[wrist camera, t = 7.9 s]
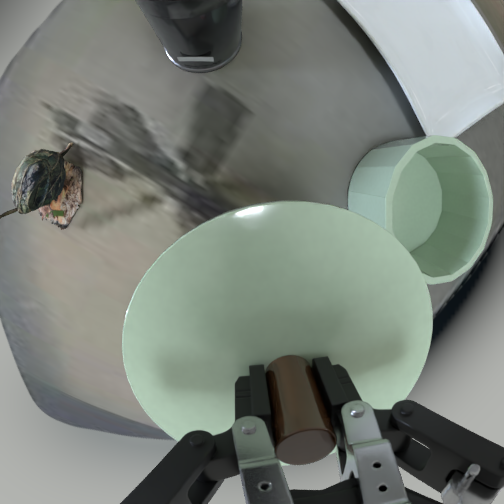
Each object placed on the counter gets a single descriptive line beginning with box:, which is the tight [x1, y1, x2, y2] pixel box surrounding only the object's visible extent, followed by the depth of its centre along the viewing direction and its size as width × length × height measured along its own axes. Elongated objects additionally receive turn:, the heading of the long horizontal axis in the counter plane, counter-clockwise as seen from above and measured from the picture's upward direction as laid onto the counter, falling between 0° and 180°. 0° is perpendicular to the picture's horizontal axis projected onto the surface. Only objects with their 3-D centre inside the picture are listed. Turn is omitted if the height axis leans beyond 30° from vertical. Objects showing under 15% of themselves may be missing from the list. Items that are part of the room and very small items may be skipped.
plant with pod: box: [0, 143, 82, 230], centre depth 24 cm, size 8×11×20 cm
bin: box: [348, 135, 493, 285], centre depth 32 cm, size 16×16×10 cm
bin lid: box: [122, 200, 433, 466], centre depth 12 cm, size 17×17×6 cm
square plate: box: [337, 0, 504, 138], centre depth 29 cm, size 27×27×4 cm
